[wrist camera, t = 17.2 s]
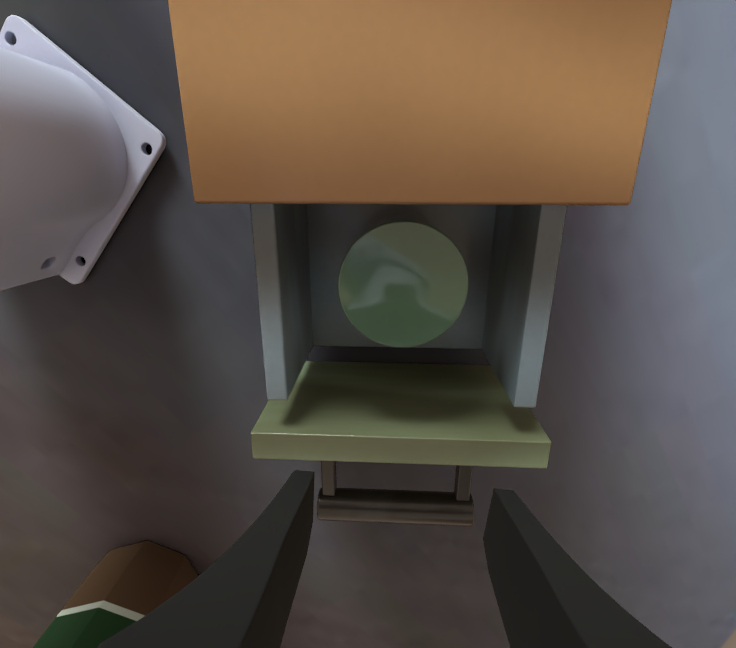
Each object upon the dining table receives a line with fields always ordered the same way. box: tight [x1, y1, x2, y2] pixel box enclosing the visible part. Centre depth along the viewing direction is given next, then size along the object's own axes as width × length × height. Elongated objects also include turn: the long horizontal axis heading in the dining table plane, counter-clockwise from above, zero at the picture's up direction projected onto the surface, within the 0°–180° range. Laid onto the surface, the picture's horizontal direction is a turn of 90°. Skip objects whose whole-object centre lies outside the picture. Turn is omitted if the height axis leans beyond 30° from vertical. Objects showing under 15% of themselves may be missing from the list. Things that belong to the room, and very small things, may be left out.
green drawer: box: [250, 204, 567, 526], centre depth 18 cm, size 18×11×7 cm, turn 0°
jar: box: [338, 213, 469, 347], centre depth 16 cm, size 4×4×6 cm
